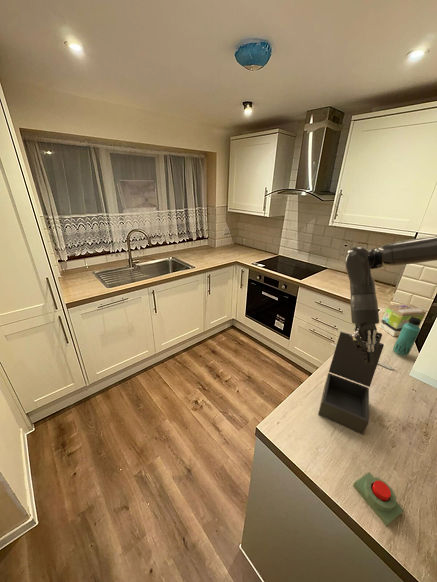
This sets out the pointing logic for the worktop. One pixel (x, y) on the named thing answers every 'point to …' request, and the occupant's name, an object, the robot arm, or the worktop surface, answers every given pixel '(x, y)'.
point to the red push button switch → (382, 508)
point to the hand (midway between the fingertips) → (368, 363)
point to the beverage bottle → (407, 337)
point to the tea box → (399, 317)
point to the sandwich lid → (353, 361)
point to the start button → (381, 490)
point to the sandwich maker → (345, 403)
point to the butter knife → (378, 361)
